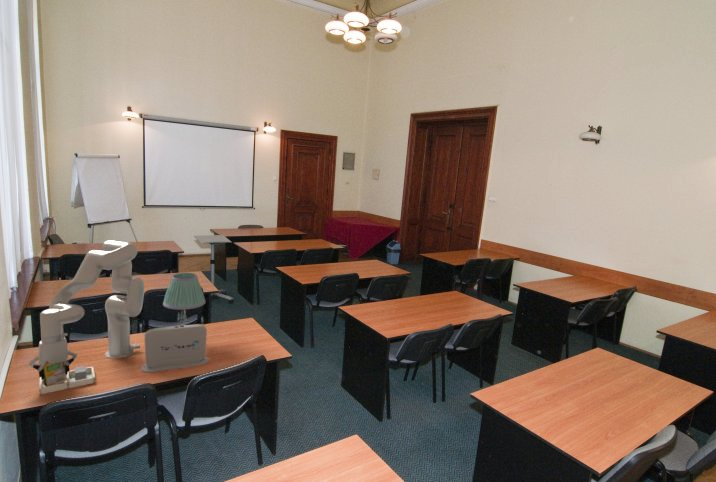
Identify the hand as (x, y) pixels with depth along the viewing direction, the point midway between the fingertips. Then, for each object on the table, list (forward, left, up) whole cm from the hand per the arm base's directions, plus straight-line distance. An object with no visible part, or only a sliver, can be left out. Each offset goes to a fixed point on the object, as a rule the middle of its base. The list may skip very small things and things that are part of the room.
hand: (54, 375), depth 171 cm
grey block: (-9, 0, -4) cm, 10 cm away
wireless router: (-48, +3, -6) cm, 49 cm away
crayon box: (0, 0, -4) cm, 4 cm away
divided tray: (-4, 0, -5) cm, 7 cm away
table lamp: (-57, -18, -5) cm, 60 cm away
